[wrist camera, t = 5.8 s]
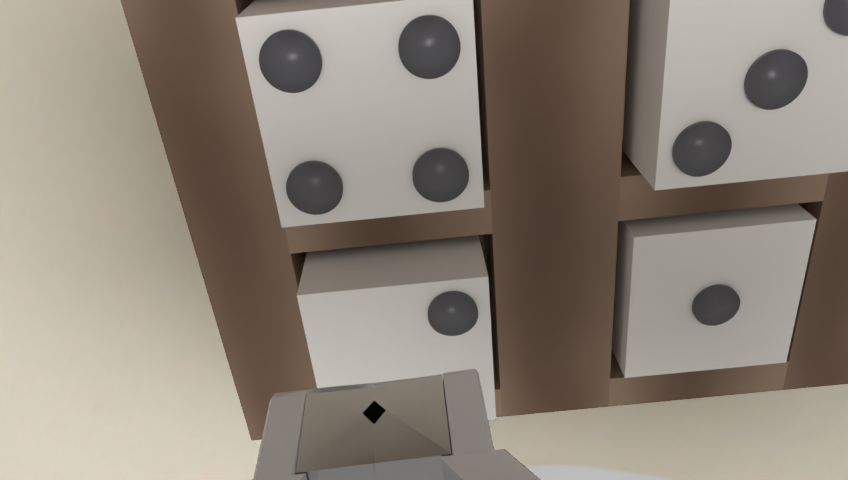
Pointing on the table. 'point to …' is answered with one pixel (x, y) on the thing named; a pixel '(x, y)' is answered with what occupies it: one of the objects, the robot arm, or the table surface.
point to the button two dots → (398, 313)
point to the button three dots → (736, 90)
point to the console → (474, 211)
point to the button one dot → (709, 289)
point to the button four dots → (365, 106)
